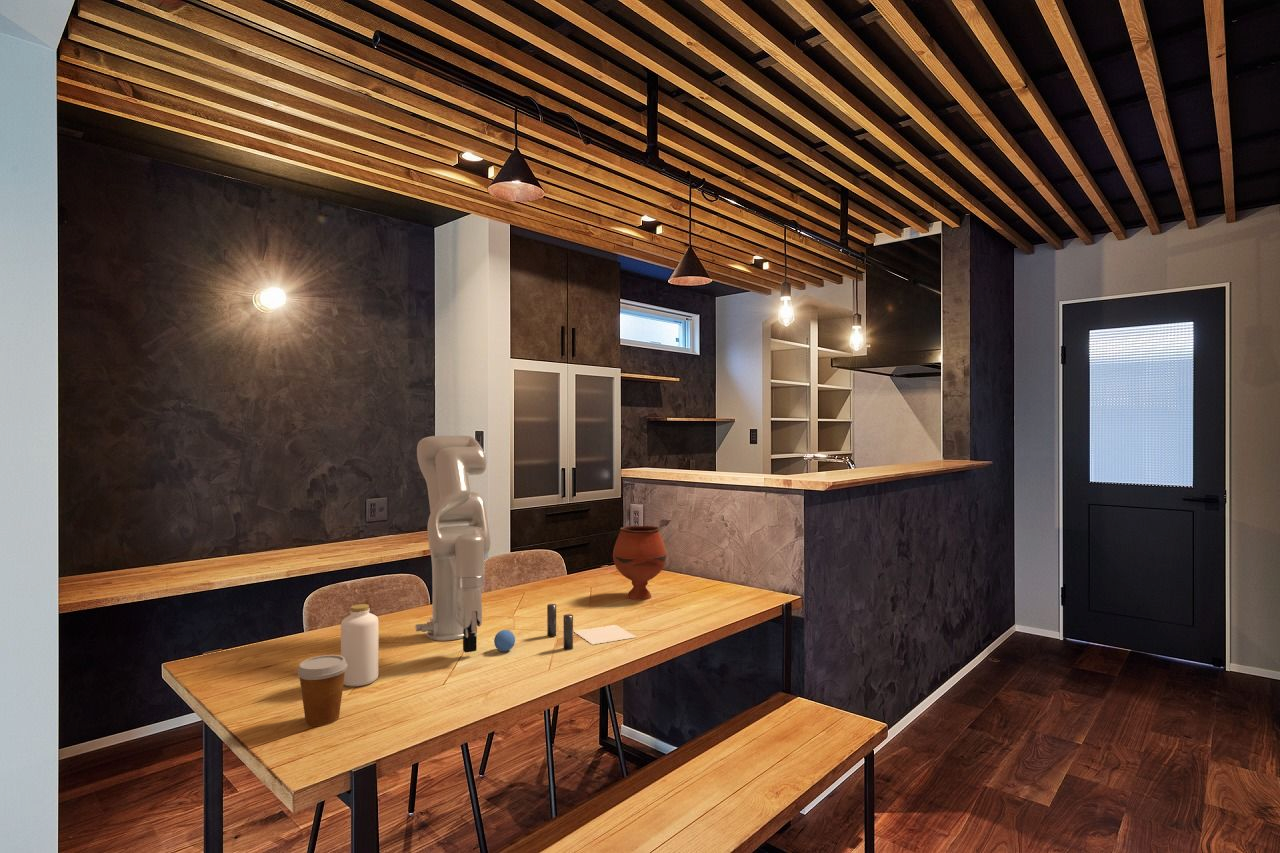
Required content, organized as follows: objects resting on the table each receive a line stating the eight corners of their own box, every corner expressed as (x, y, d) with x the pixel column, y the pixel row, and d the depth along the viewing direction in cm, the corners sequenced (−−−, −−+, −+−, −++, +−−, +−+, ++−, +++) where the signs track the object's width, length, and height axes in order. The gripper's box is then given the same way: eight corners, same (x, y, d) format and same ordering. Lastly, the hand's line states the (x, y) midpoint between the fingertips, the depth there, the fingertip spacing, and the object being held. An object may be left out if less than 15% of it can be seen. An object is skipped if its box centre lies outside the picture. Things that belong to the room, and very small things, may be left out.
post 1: (549, 637, 193) (549, 606, 193) (546, 635, 195) (546, 604, 195) (557, 636, 194) (557, 605, 194) (554, 634, 196) (554, 603, 196)
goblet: (676, 595, 243) (676, 526, 243) (647, 606, 227) (647, 533, 227) (632, 588, 253) (632, 522, 253) (602, 599, 237) (602, 528, 237)
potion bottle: (367, 672, 165) (367, 600, 165) (385, 680, 160) (385, 605, 160) (334, 682, 159) (334, 606, 159) (351, 691, 154) (351, 612, 154)
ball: (497, 655, 178) (497, 634, 178) (491, 649, 183) (491, 629, 183) (517, 652, 180) (517, 631, 180) (511, 646, 185) (511, 626, 185)
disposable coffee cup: (321, 733, 132) (321, 672, 132) (286, 725, 136) (286, 666, 136) (357, 714, 141) (357, 657, 141) (323, 707, 145) (323, 651, 145)
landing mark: (592, 645, 186) (592, 644, 186) (573, 631, 198) (573, 631, 198) (636, 637, 193) (636, 636, 193) (615, 625, 205) (615, 624, 205)
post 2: (565, 650, 182) (565, 617, 182) (562, 647, 184) (562, 615, 184) (574, 649, 183) (574, 616, 183) (570, 646, 185) (570, 613, 185)
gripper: (449, 577, 182) (449, 645, 182) (462, 589, 169) (462, 661, 169) (476, 574, 185) (476, 641, 185) (491, 585, 172) (491, 657, 172)
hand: (469, 650), depth 177 cm, fingers closed
